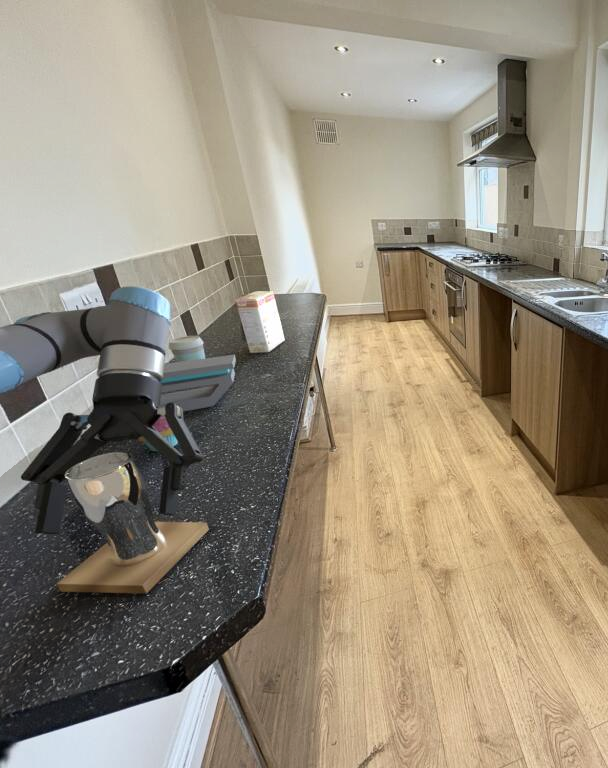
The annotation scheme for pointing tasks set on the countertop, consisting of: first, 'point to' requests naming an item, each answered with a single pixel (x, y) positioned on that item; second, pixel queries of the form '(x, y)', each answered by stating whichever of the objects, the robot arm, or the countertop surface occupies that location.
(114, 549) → the beer glass
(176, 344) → the coffee cup
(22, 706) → the countertop surface
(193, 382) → the grey tapered box
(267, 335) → the coffeecake box
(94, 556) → the serving board
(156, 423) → the cupcake
